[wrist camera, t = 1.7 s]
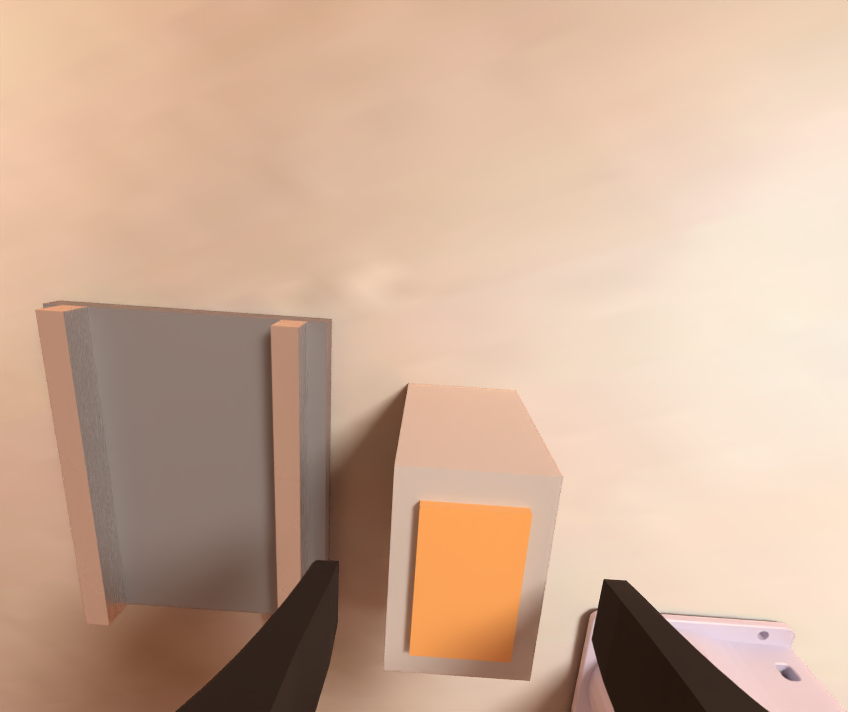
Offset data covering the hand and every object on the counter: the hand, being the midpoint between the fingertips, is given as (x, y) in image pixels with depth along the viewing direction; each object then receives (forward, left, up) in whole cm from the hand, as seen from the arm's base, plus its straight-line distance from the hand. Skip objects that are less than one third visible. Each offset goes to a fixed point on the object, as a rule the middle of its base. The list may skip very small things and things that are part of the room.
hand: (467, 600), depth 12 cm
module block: (0, 0, -8) cm, 8 cm away
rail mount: (+11, +1, -8) cm, 13 cm away
